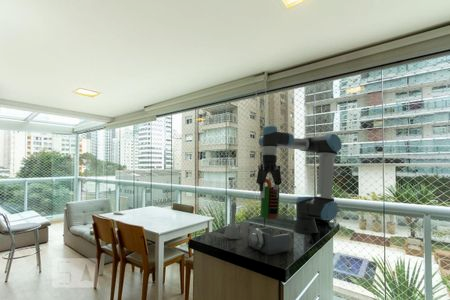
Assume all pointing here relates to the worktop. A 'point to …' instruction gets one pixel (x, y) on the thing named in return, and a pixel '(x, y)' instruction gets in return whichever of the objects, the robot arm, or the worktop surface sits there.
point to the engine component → (233, 225)
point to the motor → (270, 202)
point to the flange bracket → (268, 241)
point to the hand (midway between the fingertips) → (269, 197)
